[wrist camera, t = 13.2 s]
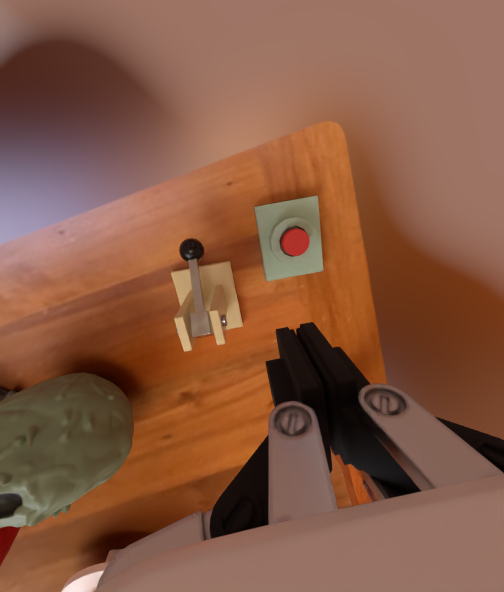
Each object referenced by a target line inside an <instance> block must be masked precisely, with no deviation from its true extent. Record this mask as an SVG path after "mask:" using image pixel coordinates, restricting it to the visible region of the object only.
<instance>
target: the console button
mask: <svg viewBox="0 0 504 592" xmlns="http://www.w3.org/2000/svg"><path fill="white" fill-rule="evenodd" d="M281 245H282V248H283V250H284V251H285V252H287V253H288V254H290V255H293V256H299V255H301V254H303V253H304V252H305V251H306V250H307V249H308V247H309V236H308V234H307V233H306V232H305V231H304V230H301V229H297V228H292V229H289V230H287V231H286V232H285V233H284V234H283V236H282V239H281Z"/></svg>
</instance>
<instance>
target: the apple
mask: <svg viewBox="0 0 504 592" xmlns="http://www.w3.org/2000/svg"><path fill="white" fill-rule="evenodd" d="M19 529H20V527H14V526H5V527H2V528H0V566H1V564H2V562H3V560H4V558H5V557H6V555H7V553H8V551H9V549H10V547H11V545H12V543H13V541H14V539H15V537H16V535H17V533H18V531H19Z"/></svg>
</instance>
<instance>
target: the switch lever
mask: <svg viewBox="0 0 504 592" xmlns="http://www.w3.org/2000/svg"><path fill="white" fill-rule="evenodd" d="M179 252H180V255H181V257H182V258H183V259H184V260H185V261H187V262H189V270H190V277H191V285H192V292H193V300H194V307H195V313H191V314H189V315H190V323H191V330H192V337H195V338H202V337H207V336H212V335H214V330H213V326H212V322H211V318H210V314H209V312H208V311H205V305H204V298H203V291H202V284H201V277H200V270H199V263H198V261H200V260H201V259H202V257H203V255H204V247H203V245H202V243H201V242H200V241H198V240H196V239H193V238H189V239H186V240H184V241H183V242H182V243H181V245H180V248H179Z"/></svg>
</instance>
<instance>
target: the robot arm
mask: <svg viewBox="0 0 504 592" xmlns="http://www.w3.org/2000/svg"><path fill="white" fill-rule="evenodd" d="M296 332H297V335H296V333H295V331H294V330H293V329H292V330H289V328H288V327H285V328H280V329H276V336H277V342H278V348H279V354H280V359H275V360H270V361H266V367H267V373H268V378H269V383H270V388H271V393H272V397H273V402H274V406H275V408H274V409H273V410H272V412H271V414H270V416H269V435H268V436H267V437H266V438H265V440H264V441H263V442H262V444H261V445H260V446H259V447H258V449H257V450H256V451H255V453H254V454H253V455H252V456H251V458H250V459H249V460H248V462H247V463H246V464H245V465H244V467H243V468H242V469H241V471H240V472H239V473H238V474H237V476H236V477H235V478H234V480H233V481H232V482H231V483H230V485H229V486H228V487H227V489H226V490H225V491H224V492H223V494H222V495H221V496H220V498H219V499H218V501H217V502H216V504H215V506H214V508H213V509H211V510H209V511H207V512H205V513H203V514H202V512H201V510H199V511H197V512H195V513H193V514H191V515H189V516H187V517H185V518H183V519H181V520H179V521H177V522H175V523H173V524H171V525H169V526H167V527H165V528H163V529H161V530H159V531H157V532H155V533H152V534H150V535H148V536H146V537H144V538H142V539H140V540H138V541H136V542H134V543H132V544H130V545H128V546H127V547H125V548H124V549H123V550H121V551H120V552H118V553H117V554H116V556H115V557H114V558H113V559H112V560H111V561H110V562H109V564H108V565H107V567H106V568H105V570H104V572H103V574H102V575H101V577H100V579H99V582H98V585H97V588H96V590H95V591H93V592H504V440H502V439H500V438H497V437H494V436H491V435H488V434H485V433H482V432H479V431H476V430H473V429H470V428H467V427H464V426H461V425H458V424H455V423H452V422H450V421H447V420H444V419H440V418H437V417H434V416H432V414H430V413H429V412H428V411H427V410H425V409H424V408H423V407H422V406H420V405H419V404H418V403H417V402H415V401H414V400H413V399H412V398H411V397H409V396H408V395H407V394H405V393H404V392H402V391H401V390H400V389H398V388H396V387H393V386H391V385H386V384H370V383H369V382H368V380H367V379H366V378H365V377H364V376H363V374H362V373H361V372H360V371H359V369H358V368H357V367H356V366H355V365H354V363H353V362H352V361H351V360H350V359H349V357H348V356H347V355H346V354H345V352H344V351H343V350H342V349H341V348H340V347H334V348H332V346H331V345H330V344H329V342H328V341H327V340H326V339H325V337H324V336H323V335H322V333H321V332H320V331H319V329H318V328H317V327H316V325H315V324H314V323H313V322H310V323H305V324H300V328H297V329H296ZM330 446H331V449H332V451H333V453H334V455H335V456H336V455H340V457H341V459H342V461H343V463H344V465H348V464H352V465H353V466H355V467H357V468H358V469H360V470H361V472H362V475H363V477H364V479H365V481H366V483H367V484H368V486H369V487H370V489H371V490H372V492H373V493H374V495H375V496H376V498H377V499H378V501H375V502H370V503H366V504H361V505H356V506H352V507H347V508H343V509H338V507H337V502H336V498H335V494H334V489H333V485H332V481H331V476H330V473H331V471H332V461H331V450H330Z"/></svg>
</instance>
